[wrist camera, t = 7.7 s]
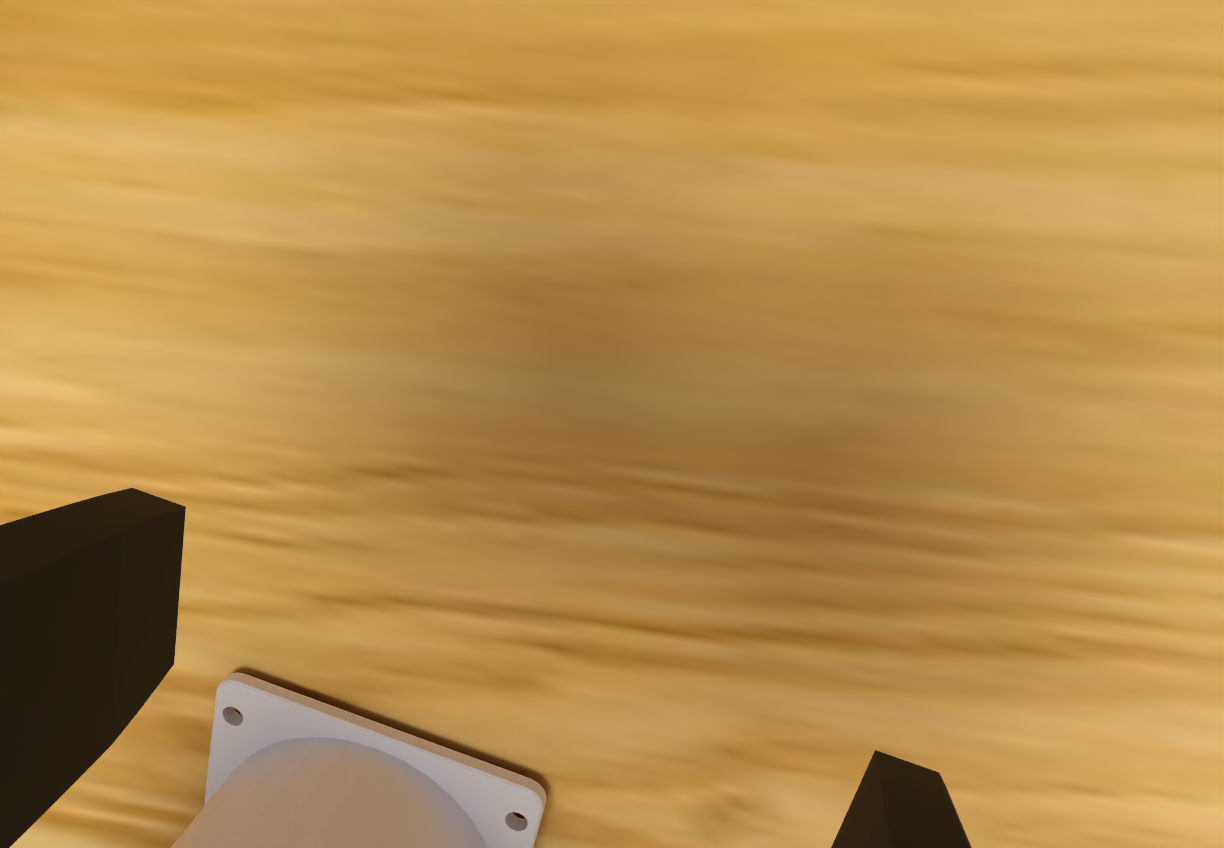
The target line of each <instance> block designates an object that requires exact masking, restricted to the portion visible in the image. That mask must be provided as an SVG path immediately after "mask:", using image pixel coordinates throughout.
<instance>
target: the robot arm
mask: <svg viewBox="0 0 1224 848" xmlns="http://www.w3.org/2000/svg"><path fill="white" fill-rule="evenodd" d="M185 508H186V507H185V506H182V505H179V504H176V503H173V502H171V501H168V500H165V499H162V498H159V497H156V496H154V495H151V494H148V493H145V492H142V491H139V490H137V489H134V488H130V489H126V490H121V491H117V492H113V493H109V494H105V495H101V496H97V497H94V498H90V499H87V500H83V501H80V502H76V503H73V504H69V505H66V506H62V507H59V508H56V509H52V510H49V511H46V512H42V513H39V514H36V515H32V516H29V517H26V518H23V519H19V520H16V521H13V522H9V523H6V524H3V525H0V848H9V847H10V846H11V845H12V844H13V843H14V842H15V841H16V840H17V839H18V838H19V837H20V836H22V835H23V834H24V833H25V832H26V831H27V830H28V829H29V828H30V827H31V826H32V825H33V824H34V823H35V822H36V821H37V820H38V819H39V818H40V817H41V816H42V815H43V814H44V813H45V812H46V811H47V810H48V809H49V808H50V807H51V806H52V805H53V804H54V803H55V802H56V801H57V800H58V799H59V798H60V797H61V796H62V795H63V794H64V793H65V792H66V791H67V790H68V789H69V788H70V787H71V786H72V785H73V784H74V783H75V782H76V781H77V780H78V779H79V778H80V777H81V776H82V774H83V773H84V772H85V771H86V770H87V769H88V768H89V767H90V766H91V765H92V764H93V763H94V762H95V761H96V760H97V759H98V758H99V757H100V756H101V755H102V754H103V753H104V752H105V751H106V750H107V749H108V748H109V747H110V746H111V745H112V744H113V743H114V741H115V740H116V739H117V738H118V736H119V735H120V734H121V733H122V731H123V730H124V729H125V727H126V726H127V725H128V724H129V722H130V721H131V720H132V719H133V717H134V716H135V715H136V714H137V712H138V711H139V710H140V709H141V707H142V706H143V705H144V703H145V702H146V701H147V699H148V698H149V697H150V695H151V694H152V693H153V691H154V690H155V689H156V687H157V686H158V685H159V683H160V682H161V681H162V679H163V678H164V677H165V675H166V674H167V673H168V671H169V670H170V669H171V667H172V666H173V665H174V656H175V643H176V629H177V616H178V602H179V589H180V575H181V562H182V548H183V535H184V521H185ZM233 707H234V708H236V709H237V710H239V711H240V713H241V714H242V715H241V714H239V713H237V712H236V711H235V710H234V708H233ZM546 800H547V795H546V793H545V791H544V788H543V787H542V786H541V785H540V784H539V783H538V782H536V781H534V780H532V779H531V778H528V777H525V776H523V775H520V774H517V773H514V772H512V771H509V770H506V769H503V768H501V767H498V766H495V765H493V764H490V763H487V762H484V761H482V760H479V759H476V758H473V757H471V756H468V755H465V754H463V753H460V752H457V751H454V750H452V749H449V748H446V747H443V746H441V745H438V744H435V743H432V742H430V741H427V740H424V739H422V738H419V737H416V736H413V735H411V734H408V733H405V732H402V731H400V730H397V729H394V728H392V727H389V726H386V725H383V724H381V723H378V722H375V721H372V720H370V719H367V718H364V717H361V716H359V715H356V714H353V713H351V712H348V711H345V710H342V709H340V708H337V707H334V706H331V705H329V704H326V703H323V702H321V701H318V700H315V699H312V698H310V697H307V696H304V695H301V694H299V693H296V692H293V691H291V690H288V689H285V688H282V687H280V686H277V685H274V684H271V683H269V682H266V681H263V680H260V679H258V678H255V677H252V676H250V675H247V674H243V673H238V672H236V673H231V674H229V675H228V676H227V677H226V678H225V679H224V680H223V681H222V682H221V683H220V684H219V685H218V687H217V690H216V697H215V707H214V716H213V725H212V735H211V744H210V753H209V763H208V772H207V781H206V791H205V800H204V807H203V809H202V810H201V811H200V812H199V814H198V815H197V816H196V817H195V818H194V820H193V821H192V822H191V823H190V824H189V826H188V827H187V828H186V829H185V831H184V832H183V833H182V834H181V835H180V837H179V838H178V839H177V840H176V842H175V843H174V844H173V845H172V846H171V848H534V844H535V841H536V837H537V834H538V830H539V827H540V823H541V820H542V816H543V813H544V809H545V806H546ZM513 812H516V813H520V814H521V815H523V816H524V817H525V818H526V819H522V818H518V817H517V816H515V815H514V814H513ZM831 848H971V845H970V843H969V841H968V838H967V836H966V833H965V831H964V829H963V826H962V824H961V821H960V819H959V817H958V814H957V812H956V809H955V807H954V805H953V802H952V800H951V797H950V795H949V793H948V790H947V788H946V786H945V784H944V782H943V780H942V778H941V776H940V774H939V773H938V772H936V771H933V770H930V769H927V768H924V767H921V766H919V765H916V764H913V763H910V762H907V761H904V760H902V759H899V758H896V757H893V756H890V755H887V754H885V753H882V752H879V751H876V750H875V752H874V754H873V756H872V759H871V761H870V763H869V765H868V768H867V770H866V772H865V774H864V776H863V779H862V781H861V783H860V785H859V787H858V790H857V792H856V794H855V796H854V799H853V801H852V803H851V805H850V807H849V810H848V812H847V814H846V816H845V818H844V821H843V823H842V825H841V827H840V830H839V832H838V834H837V836H836V838H835V841H834V843H833V845H832V847H831Z"/></svg>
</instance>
